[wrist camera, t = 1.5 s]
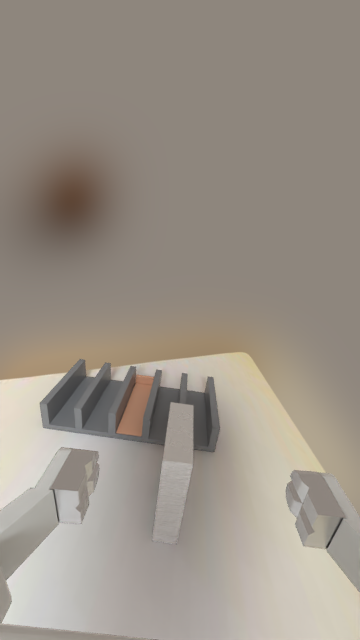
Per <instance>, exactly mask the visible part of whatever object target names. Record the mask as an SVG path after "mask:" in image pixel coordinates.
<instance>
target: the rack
mask: <svg viewBox="0 0 360 640" xmlns="http://www.w3.org/2000/svg"><path fill="white" fill-rule="evenodd" d="M161 373H162V370H156V373H155V377H150V376H143V375H136V367H134V366H131V367H130V369H129V371H128V373H127V375H126V377H125V379H124V382H122V381H115V380H111V364H110V363H105V364H104V365H103V367H102V368H101V370H100V371H99V373H98V374H97V375H96V377H95V378H93V377H86V369H85V360H81V359H80V360H79V361H78V362H77V363H76V364H75V365H74V366H73V367H72V368H71V369H70V371H69V372H68V373H67V374H66V375H65V376H64V377H63V378H62V379H61V380H60V382H59V383H58V384H57V385H56V386H55V387H54V388H53V389H52V390H51V391H50V393H49V394H48V395H47V396H46V397H45V398H44V399H43V400H42V401H41V402H40V409H41V416H42V423H43V428H47V429H54V430H61V431H69V432H76V433H83V434H90V435H97V436H104V437H111V438H118V439H125V440H132V441H139V442H147V443H154V444H161V445H165V439H166V432H167V425H168V418H169V411H170V404H171V402H173V403H180V404H188V405H193V449H196V450H203V451H210V452H214V450H215V446H216V442H217V438H218V434H219V430H220V425H219V418H218V410H217V402H216V395H215V387H214V379H213V377H208V379H207V384H206V389H205V393H202V392H195V391H188V390H187V374H185V373H182V378H181V384H180V389H173V388H166V387H160V382H161ZM135 379H136V383H135Z"/></svg>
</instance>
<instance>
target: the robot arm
mask: <svg viewBox="0 0 360 640" xmlns="http://www.w3.org/2000/svg"><path fill="white" fill-rule="evenodd" d="M98 458H99V455H98V452H97V451H89V450H81V449H73V448H64V447H61V448H60V449H59V450H58V451H57V453H56V455H55V456H54V458H53V459H52V461H51V463H50V464H49V466H48V467H47V469H46V471H45V472H44V474H43V475H42V477H41V478H40V480H39V482H38V483H37V485H36V486H35V488H30V489H28V490H27V491H26V492H24V493H23V494H22V495H20V496H19V497H18V498H16V499H15V500H13V501H12V502H11V503H9V504H8V505H7V506H5V507H4V508H3V509H1V510H0V640H156V639H146V638H137V637H127V636H117V635H108V634H98V633H88V632H78V631H69V630H59V629H49V628H40V627H30V626H20V625H10V624H1V623H2V621H3V619H4V617H5V615H6V613H7V611H8V609H9V607H10V604H11V602H12V599H11V594H10V591H9V588H8V585H7V582H6V580H7V579H8V578H9V577H10V576H11V575H12V574H13V573H14V571H15V570H16V569H17V568H18V567H19V566H20V565H21V564H22V563H23V562H24V561H25V560H26V559H27V558H28V556H29V555H30V554H31V553H32V552H33V551H34V550H35V549H36V548H37V547H38V546H39V545H40V544H41V543H42V541H43V540H44V539H45V538H46V537H47V536H48V535H49V534H50V533H51V532H52V531H53V530H54V529H55V528H56V527H57V525H58V523H72V524H82V521H83V519H84V516H85V513H86V511H87V508H88V506H89V496H90V495H91V494H92V493H93V492H94V490H95V487H96V484H97V480H98V476H99V464H98V463H97V460H98ZM290 477H291V479H292V481H290V482H289V483H288V484H287V487H286V499H287V504H288V507H289V509H290V511H291V513H292V514H293V515H294V516H295V517H296V523H295V525H296V528H297V531H298V533H299V536H300V539H301V541H302V544H303V546H305V547H313V548H320V549H327V552H328V553H329V555H330V556H331V557H332V558H333V560H334V561H335V562H336V563H337V565H338V566H339V567H340V568H341V570H342V571H343V572H344V574H345V575H346V576H347V577H348V579H349V580H350V581H351V582H352V584H353V585H354V586H355V587H356V589H357V590H358V591H359V592H360V517H359V515H358V513H357V512H356V510H355V508H354V507H353V505H352V504H351V502H350V501H349V499H348V497H347V496H346V494H345V492H344V491H343V489H342V488H341V486H340V484H339V483H338V481H337V479H336V478H335V477H334V476H333V475H332V474H329V473H318V472H311V471H299V470H294V471H292V473H291V475H290Z"/></svg>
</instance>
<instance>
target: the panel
mask: <svg viewBox="0 0 360 640" xmlns="http://www.w3.org/2000/svg"><path fill="white" fill-rule="evenodd" d="M192 468H193V405H188V404H180V403H173V402H171V404H170V411H169V418H168V425H167V432H166V439H165V446H164V454H163V461H162V468H161V476H160V483H159V491H158V499H157V506H156V514H155V521H154V529H153V536H152V541H156V542H163V543H169V544H176V545H177V540H178V535H179V531H180V526H181V521H182V516H183V511H184V506H185V502H186V497H187V492H188V487H189V482H190V478H191V473H192Z"/></svg>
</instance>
